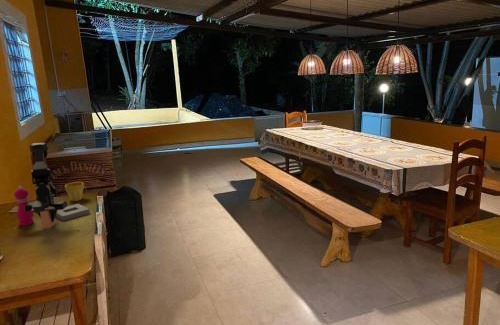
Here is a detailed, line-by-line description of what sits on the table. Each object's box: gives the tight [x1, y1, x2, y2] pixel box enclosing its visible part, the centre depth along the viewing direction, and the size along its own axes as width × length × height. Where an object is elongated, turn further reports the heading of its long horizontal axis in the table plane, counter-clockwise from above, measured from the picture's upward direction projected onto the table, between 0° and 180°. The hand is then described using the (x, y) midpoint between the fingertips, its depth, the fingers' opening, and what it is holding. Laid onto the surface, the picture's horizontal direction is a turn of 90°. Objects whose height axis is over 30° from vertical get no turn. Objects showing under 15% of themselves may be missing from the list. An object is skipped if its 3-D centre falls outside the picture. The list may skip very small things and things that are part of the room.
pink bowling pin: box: [13, 185, 34, 226], centre depth 183 cm, size 7×7×20 cm
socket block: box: [55, 203, 90, 222], centre depth 196 cm, size 14×14×3 cm
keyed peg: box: [40, 208, 57, 229], centre depth 180 cm, size 6×4×9 cm, turn 3°
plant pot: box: [64, 181, 85, 202], centre depth 221 cm, size 10×10×10 cm
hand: (48, 222), depth 181 cm, fingers open, 4 cm apart
